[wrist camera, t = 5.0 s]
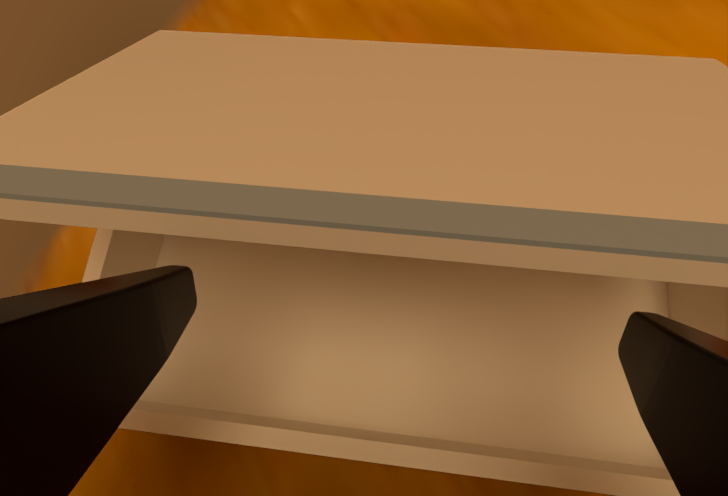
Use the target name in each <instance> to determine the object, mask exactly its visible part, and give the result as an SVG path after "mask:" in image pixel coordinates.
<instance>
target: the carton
mask: <svg viewBox="0 0 728 496" xmlns="http://www.w3.org/2000/svg"><path fill="white" fill-rule="evenodd" d="M168 265H179V266H187V267H189V268H191V270H192V272H193V277H194V283H195V289H196V295H197V306H196V310H195V312H194V314H193V316H192V318H191V319H190V321H189V323H188V325H187V326H186V328H185V330H184V332H183V334H182V335H181V337H180V339H179V341H178V342H177V344H176V346H175V348H174V350H173V351H172V353H171V355H170V356H169V358H168V360H167V361H166V362H165V364H164V365H163V367H162V368H161V370H160V371H159V372H158V374H157V375H156V376H155V378H154V379H153V381H152V382H151V383H150V385H149V386H148V387H147V389H146V390H145V391H144V393H143V394H142V396H141V397H140V398H139V400H138V401H137V402H136V404H135V405H134V406H133V408H132V409H131V411H130V412H129V413H128V415H127V416H126V417H125V419H124V420H123V421H122V423H121V424H120V426H119V427H118V428H122V429H130V430H137V431H145V432H152V433H159V434H167V435H174V436H181V437H189V438H196V439H203V440H211V441H218V442H225V443H233V444H240V445H248V446H255V447H262V448H270V449H277V450H284V451H292V452H299V453H306V454H314V455H321V456H328V457H336V458H343V459H351V460H358V461H365V462H373V463H380V464H387V465H395V466H402V467H409V468H417V469H424V470H431V471H439V472H446V473H454V474H461V475H468V476H476V477H483V478H490V479H498V480H505V481H512V482H520V483H527V484H535V485H542V486H549V487H557V488H564V489H571V490H579V491H586V492H593V493H601V494H608V495H615V496H680V494H679V492H678V490H677V488H676V486H675V484H674V482H673V480H672V478H671V476H670V474H669V472H668V470H667V468H666V466H665V464H664V462H663V460H662V458H661V457H660V455H659V453H658V451H657V449H656V447H655V445H654V443H653V441H652V439H651V437H650V435H649V433H648V431H647V429H646V427H645V425H644V423H643V421H642V418H641V416H640V414H639V411H638V409H637V406H636V404H635V401H634V398H633V395H632V393H631V390H630V387H629V384H628V382H627V379H626V376H625V373H624V370H623V368H622V365H621V362H620V359H619V355H618V346H619V342H620V340H621V337H622V334H623V332H624V329H625V327H626V324H627V321H628V319H629V317H630V315H631V314H632V313H633V312H636V311H640V312H650V313H656V314H659V315H662V316H664V317H667V318H669V319H672V320H675V321H677V322H680V323H682V324H685V325H687V326H690V327H693V328H695V329H698V330H700V331H703V332H706V333H708V334H711V335H713V336H716V337H718V338H721V339H724V340H726V341H728V287H718V286H708V285H697V284H686V283H676V282H665V281H655V280H644V279H633V278H623V277H612V276H602V275H591V274H580V273H570V272H559V271H548V270H538V269H527V268H517V267H506V266H495V265H485V264H474V263H464V262H453V261H442V260H432V259H421V258H411V257H400V256H389V255H379V254H368V253H357V252H347V251H336V250H326V249H315V248H304V247H294V246H283V245H273V244H262V243H251V242H241V241H230V240H219V239H209V238H198V237H188V236H177V235H166V234H156V233H145V232H135V231H124V230H113V229H103V228H98V229H97V232H96V235H95V239H94V242H93V246H92V249H91V253H90V256H89V259H88V263H87V266H86V270H85V273H84V277H83V280H82V283H83V282H88V281H93V280H98V279H103V278H108V277H113V276H118V275H123V274H128V273H133V272H138V271H143V270H148V269H153V268H158V267H163V266H168Z"/></svg>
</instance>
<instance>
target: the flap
mask: <svg viewBox="0 0 728 496" xmlns="http://www.w3.org/2000/svg"><path fill="white" fill-rule="evenodd" d="M0 219H7V220H18V221H29V222H40V223H50V224H60V225H71V226H82V227H92V228H103V229H113V230H124V231H135V232H145V233H156V234H166V235H177V236H188V237H198V238H209V239H219V240H230V241H241V242H251V243H262V244H273V245H283V246H294V247H304V248H315V249H326V250H336V251H347V252H357V253H368V254H379V255H389V256H400V257H411V258H421V259H432V260H442V261H453V262H464V263H474V264H485V265H495V266H506V267H517V268H527V269H538V270H548V271H559V272H570V273H580V274H591V275H602V276H612V277H623V278H633V279H644V280H655V281H665V282H676V283H686V284H697V285H708V286H718V287H728V67H727V66H725V65H724V64H722V63H721V62H719V61H718V60H716V59H710V58H691V57H672V56H652V55H633V54H614V53H594V52H575V51H556V50H536V49H517V48H498V47H478V46H459V45H440V44H420V43H401V42H382V41H362V40H343V39H324V38H304V37H285V36H266V35H246V34H227V33H208V32H188V31H169V30H159V31H157V32H155V33H153V34H152V35H150V36H148V37H146V38H144V39H142V40H140V41H139V42H137V43H135V44H133V45H131V46H129V47H127V48H126V49H124V50H122V51H120V52H118V53H116V54H114V55H113V56H111V57H109V58H107V59H106V60H103V61H101V62H100V63H98V64H96V65H94V66H92V67H90V68H89V69H87V70H85V71H83V72H81V73H79V74H77V75H76V76H74V77H72V78H70V79H68V80H66V81H64V82H63V83H61V84H59V85H57V86H55V87H53V88H52V89H50V90H48V91H46V92H44V93H42V94H40V95H38V96H37V97H35V98H33V99H31V100H29V101H27V102H25V103H24V104H22V105H20V106H18V107H16V108H15V109H13V110H11V111H9V112H7V113H5V114H3V115H1V116H0Z"/></svg>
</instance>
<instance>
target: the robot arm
mask: <svg viewBox="0 0 728 496" xmlns="http://www.w3.org/2000/svg"><path fill="white" fill-rule="evenodd" d="M196 306H197V295H196V289H195V283H194V277H193V272H192V270H191V268H189V267H187V266H179V265H168V266H163V267H158V268H153V269H148V270H143V271H138V272H133V273H128V274H123V275H118V276H113V277H108V278H103V279H98V280H93V281H88V282H83V283H77V284H72V285H67V286H62V287H57V288H52V289H47V290H42V291H37V292H32V293H27V294H22V295H17V296H12V297H7V298H2V299H0V496H68V495H69V494H70V492H71V491H72V490H73V488H74V487H75V486H76V484H77V483H78V481H79V480H80V479H81V477H82V476H83V475H84V473H85V472H86V471H87V469H88V468H89V466H90V465H91V464H92V462H93V461H94V460H95V458H96V457H97V456H98V454H99V453H100V451H101V450H102V449H103V447H104V446H105V445H106V443H107V442H108V441H109V439H110V438H111V436H112V435H113V434H114V432H115V431H116V430H117V428H118V427H119V426H120V424H121V423H122V421H123V420H124V419H125V417H126V416H127V415H128V413H129V412H130V411H131V409H132V408H133V406H134V405H135V404H136V402H137V401H138V400H139V398H140V397H141V396H142V394H143V393H144V391H145V390H146V389H147V387H148V386H149V385H150V383H151V382H152V381H153V379H154V378H155V376H156V375H157V374H158V372H159V371H160V370H161V368H162V367H163V365H164V364H165V362H166V361H167V360H168V358H169V356H170V355H171V353H172V351H173V350H174V348H175V346H176V344H177V342H178V341H179V339H180V337H181V335H182V334H183V332H184V330H185V328H186V326H187V325H188V323H189V321H190V319H191V318H192V316H193V314H194V312H195V310H196ZM618 355H619V359H620V362H621V365H622V368H623V370H624V373H625V376H626V379H627V382H628V384H629V387H630V390H631V393H632V395H633V398H634V401H635V404H636V406H637V409H638V411H639V414H640V416H641V418H642V421H643V423H644V425H645V427H646V429H647V431H648V433H649V435H650V437H651V439H652V441H653V443H654V445H655V447H656V449H657V451H658V453H659V455H660V457H661V458H662V460H663V462H664V464H665V466H666V468H667V470H668V472H669V474H670V476H671V478H672V480H673V482H674V484H675V486H676V488H677V490H678V492H679V494H680V496H728V341H726V340H724V339H721V338H718V337H716V336H713V335H711V334H708V333H706V332H703V331H700V330H698V329H695V328H693V327H690V326H687V325H685V324H682V323H680V322H677V321H675V320H672V319H669V318H667V317H664V316H662V315H659V314H656V313H650V312H640V311H636V312H633V313H632V314H631V315H630V317H629V319H628V321H627V324H626V327H625V329H624V332H623V334H622V337H621V340H620V342H619V346H618Z"/></svg>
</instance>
